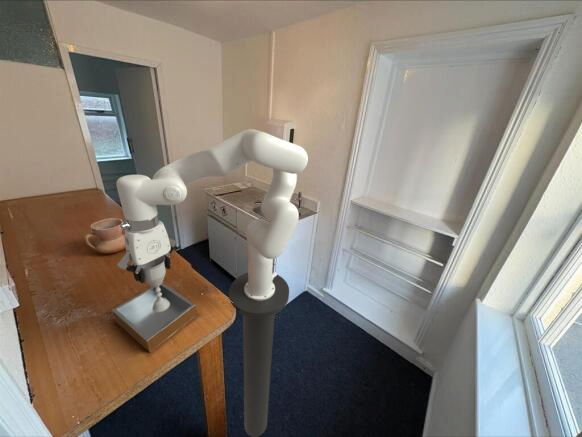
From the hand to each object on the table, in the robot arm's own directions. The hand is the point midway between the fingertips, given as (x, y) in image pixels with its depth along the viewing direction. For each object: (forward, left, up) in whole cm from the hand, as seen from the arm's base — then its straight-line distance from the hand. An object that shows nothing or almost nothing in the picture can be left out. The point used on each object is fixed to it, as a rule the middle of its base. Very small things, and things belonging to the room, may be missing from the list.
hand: (154, 273), depth 70 cm
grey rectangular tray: (0, -4, -22) cm, 22 cm away
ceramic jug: (-12, -60, -22) cm, 66 cm away
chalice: (0, 0, -13) cm, 13 cm away
